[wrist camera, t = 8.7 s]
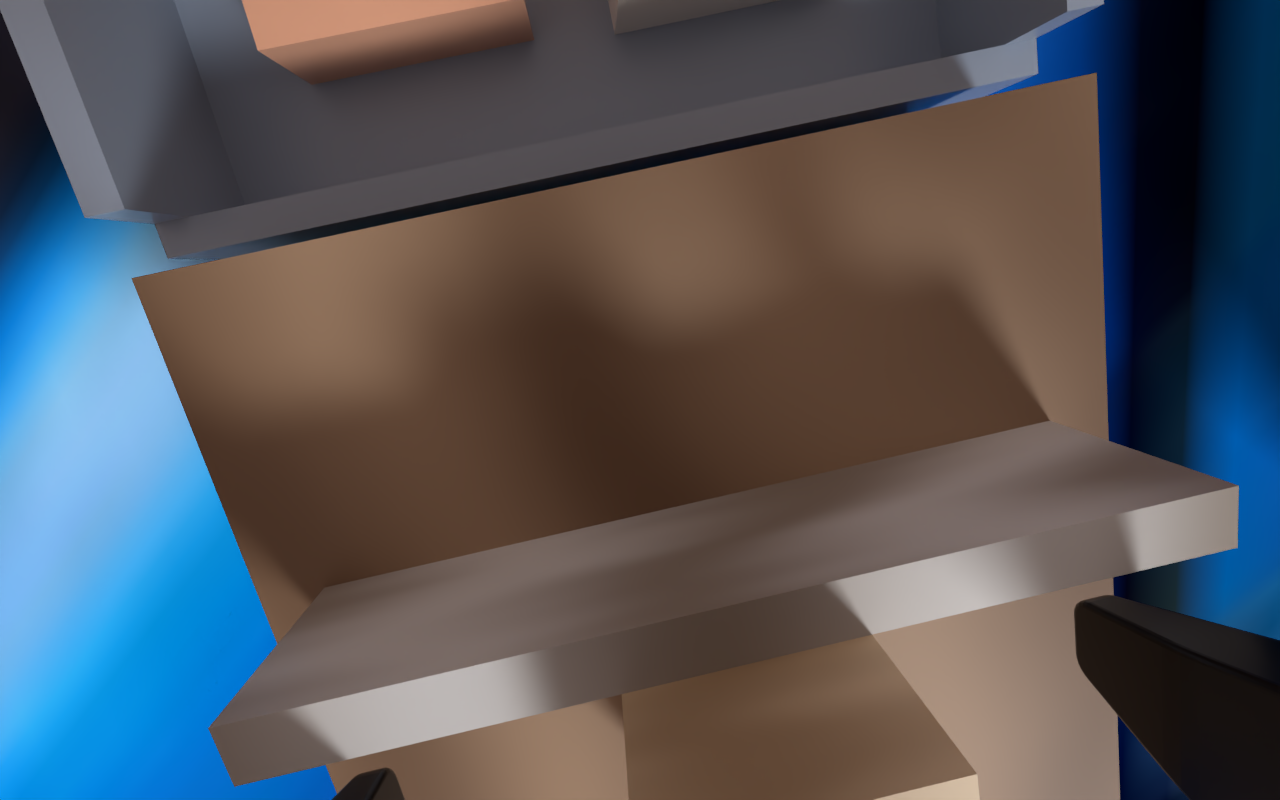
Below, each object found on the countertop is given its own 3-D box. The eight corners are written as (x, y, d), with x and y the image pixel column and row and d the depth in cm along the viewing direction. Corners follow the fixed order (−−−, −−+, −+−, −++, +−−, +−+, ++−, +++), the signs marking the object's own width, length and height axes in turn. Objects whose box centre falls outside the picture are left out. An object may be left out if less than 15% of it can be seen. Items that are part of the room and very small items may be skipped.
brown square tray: (918, 139, 14) (1097, 72, 9) (969, 669, 17) (1121, 834, 12) (299, 272, 13) (132, 278, 8) (472, 788, 17) (423, 1007, 12)
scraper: (1049, 420, 10) (1483, 570, 5) (1063, 669, 11) (1432, 987, 6) (324, 587, 10) (53, 916, 5) (413, 827, 11) (265, 1292, 6)
